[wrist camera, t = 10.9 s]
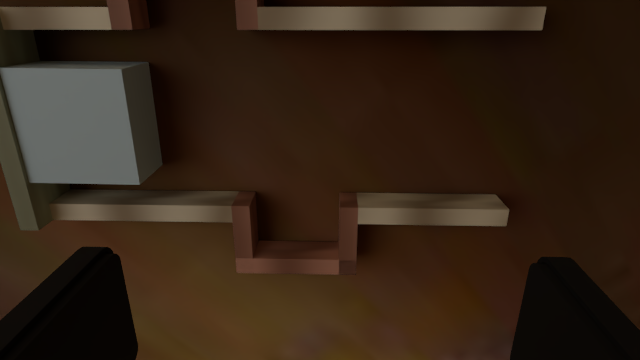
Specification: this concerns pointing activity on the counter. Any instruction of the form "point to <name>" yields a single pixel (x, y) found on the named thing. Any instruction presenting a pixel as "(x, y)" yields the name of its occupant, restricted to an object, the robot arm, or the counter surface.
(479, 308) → the counter surface
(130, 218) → the trap channel
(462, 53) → the counter surface
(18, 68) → the gray block
